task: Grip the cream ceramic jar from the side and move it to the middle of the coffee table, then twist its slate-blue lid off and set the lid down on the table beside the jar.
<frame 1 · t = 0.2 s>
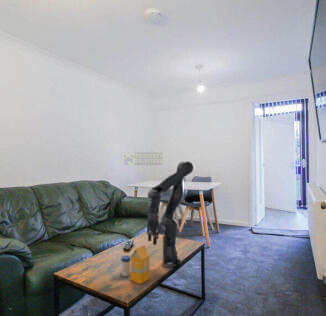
hand: (152, 242, 168), 17 cm above the table, tool pointing down, fingers open, 8 cm apart
jar: (126, 274, 158), on the table
orange juice: (140, 279, 151), on the table
lid: (125, 257, 158), point 11 cm above the table, screwed on, not yet turned
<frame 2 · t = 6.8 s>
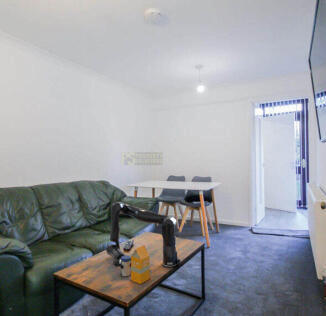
hand: (127, 266, 156), 6 cm above the table, tool horizontal, fingers closed on jar, 5 cm apart
jar: (126, 274, 158), on the table, touching gripper
everything else where it was.
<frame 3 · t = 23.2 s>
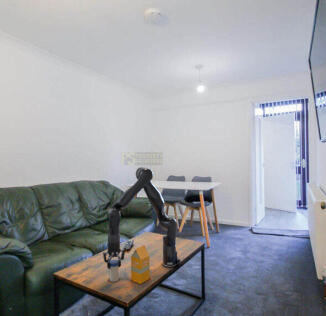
hand: (114, 267, 151), 8 cm above the table, tool pointing down, fingers closed on lid, 5 cm apart
jar: (114, 279, 151), on the table
lid: (113, 262, 152), point 11 cm above the table, screwed on, not yet turned, touching gripper
everything else where it was.
when the fingers open (0 cm above the table, at t = 36.9 s): lid drops 2 cm, point 1 cm above the table.
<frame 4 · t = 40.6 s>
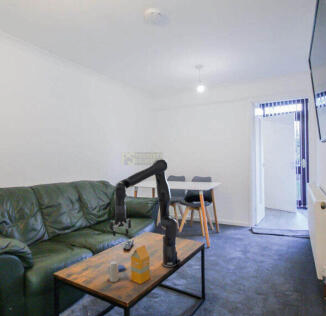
hand: (120, 235, 166), 23 cm above the table, tool pointing down, fingers open, 8 cm apart
lid: (120, 267, 165), point 1 cm above the table, off its thread
everything else where it was.
at the end: lid came off its thread; lid point 0.9 cm above the table; jar inside the target area (0.2 cm from its centre), on the table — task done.
